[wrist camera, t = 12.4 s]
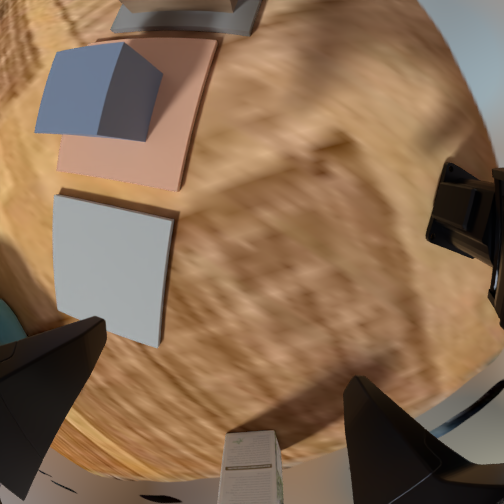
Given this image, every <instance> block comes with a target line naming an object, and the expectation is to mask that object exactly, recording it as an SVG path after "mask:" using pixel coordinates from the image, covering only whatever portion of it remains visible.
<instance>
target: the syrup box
mask: <svg viewBox="0 0 504 504" xmlns="http://www.w3.org/2000/svg"><path fill="white" fill-rule="evenodd" d="M218 504H283V482H282V461H281V450H280V447H279V444H278V441H277V437H276V434H275V431H274V430H269V431H254V432H241V433H226V436H225V444H224V451H223V459H222V468H221V476H220V486H219V496H218Z"/></svg>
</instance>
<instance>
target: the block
mask: <svg viewBox="0 0 504 504" xmlns="http://www.w3.org/2000/svg"><path fill="white" fill-rule="evenodd" d="M162 77H163V73H162V72H160V71H159V70H158V69H157V68H156V67H154V66H153V65H152V64H151V63H150V62H149V61H147V60H146V59H145V58H144V57H142V56H141V55H140V54H139V53H137V52H136V51H135V50H134V49H133V48H131V47H130V46H129V45H127V44H126V43H125V42H117V43H107V44H99V45H92V46H86V47H80V48H74V49H69V50H64V51H60V52H57V53H56V56H55V58H54V61H53V64H52V67H51V70H50V73H49V76H48V79H47V82H46V86H45V89H44V93H43V97H42V100H41V104H40V109H39V113H38V117H37V122H36V127H35V132H34V133H47V134H64V135H77V136H88V137H101V138H112V139H122V140H132V141H140V142H146V137H147V133H148V129H149V124H150V120H151V116H152V112H153V108H154V105H155V101H156V97H157V94H158V90H159V87H160V83H161V80H162Z"/></svg>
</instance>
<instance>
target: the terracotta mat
mask: <svg viewBox="0 0 504 504" xmlns="http://www.w3.org/2000/svg"><path fill="white" fill-rule="evenodd" d="M117 42H125V43H126V44H127V45H129V46H130V47H131V48H133V49H134V50H135V51H136V52H137V53H139V54H140V55H141V56H142V57H144V58H145V59H146V60H147V61H149V62H150V63H151V64H152V65H153V66H154V67H156V68H157V69H158V70H159V71H160V72H162V73H163V77H162V80H161V83H160V87H159V90H158V94H157V97H156V101H155V105H154V108H153V112H152V116H151V120H150V124H149V129H148V133H147V137H146V142H140V141H132V140H122V139H112V138H101V137H88V136H77V135H64V134H62V138H61V143H60V149H59V156H58V163H57V171H61V172H67V173H74V174H80V175H87V176H93V177H99V178H105V179H111V180H116V181H122V182H127V183H133V184H138V185H144V186H149V187H154V188H159V189H164V190H169V191H174V192H179V191H180V186H181V181H182V176H183V171H184V166H185V161H186V157H187V152H188V148H189V144H190V139H191V135H192V131H193V127H194V123H195V119H196V115H197V111H198V108H199V104H200V100H201V97H202V93H203V90H204V86H205V83H206V79H207V76H208V73H209V70H210V66H211V63H212V60H213V57H214V54H215V51H216V48H217V45H218V43H217V40H209V39H195V38H134V39H121V40H111V41H103V42H95V43H89V44H88V46H92V45H99V44H107V43H117Z"/></svg>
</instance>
